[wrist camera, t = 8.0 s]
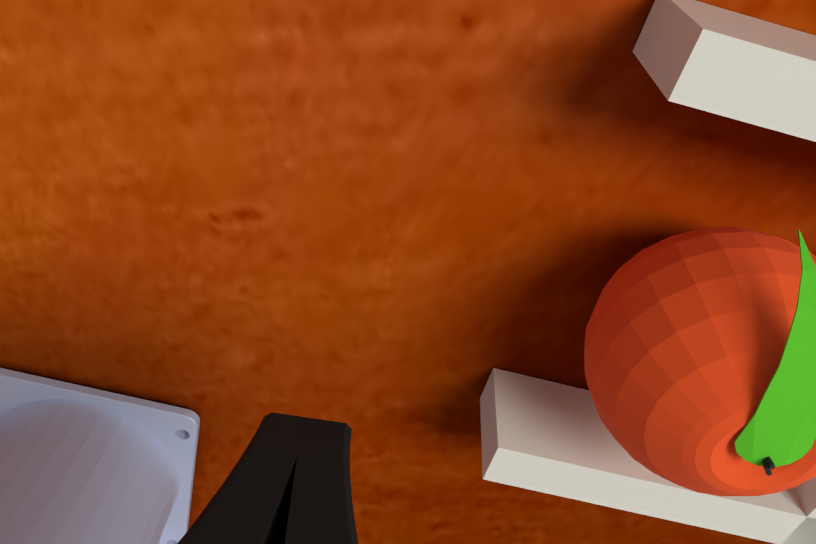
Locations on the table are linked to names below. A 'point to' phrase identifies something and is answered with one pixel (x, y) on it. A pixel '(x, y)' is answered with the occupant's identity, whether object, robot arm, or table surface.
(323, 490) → the robot arm
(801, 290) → the clementine
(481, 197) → the table surface
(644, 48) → the holder
